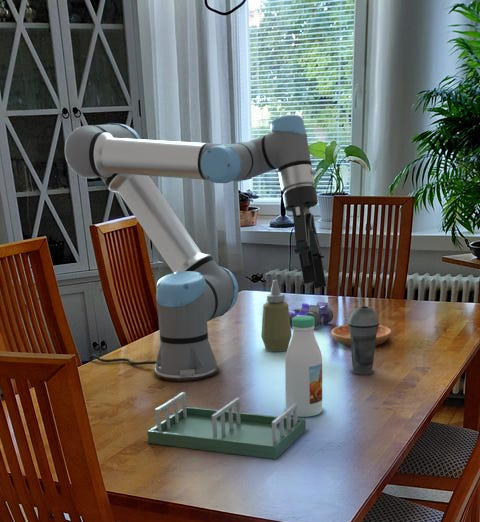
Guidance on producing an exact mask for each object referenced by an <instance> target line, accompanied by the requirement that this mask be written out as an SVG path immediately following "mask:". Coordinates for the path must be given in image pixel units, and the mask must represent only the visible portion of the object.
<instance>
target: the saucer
mask: <svg viewBox="0 0 480 522" xmlns="http://www.w3.org/2000/svg"><path fill="white" fill-rule="evenodd" d="M331 336H332V338H333V339H334V340H335V341H337V342H338V343H339V344H341V345H343V346H347V347H351V338H350V332H349V326H348V323H347V324H343V325H339V326H335V327H334V328H333V329H331ZM391 336H392V329H391V328H389V327H387V326H385V325H382V324H379V325H378V331H377V335H376V344H375V347H376V346H379V345H382V344H383V343H385V342H387V340H388V339H390V337H391Z"/></svg>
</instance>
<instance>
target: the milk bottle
mask: <svg viewBox="0 0 480 522" xmlns="http://www.w3.org/2000/svg"><path fill="white" fill-rule="evenodd" d="M291 324H292V325H291V330H292V336H291V339H290V342H289V346H288V349H286V353H285V363H284V375H285V376H284V379H285V381H284V384H285V385H284V386H285V388H284V389H285V392H284V393H285V411H286V410H287V409H288V408H289V407H290V406H292V405H293V404H294V403H296V404H297V417H298V418H300V417H301V418H304V417H305V418H307V417H314V416H317V415H320V414H321V413H322V411H323V356H322V351H321V348H320V346H319V344H318V342H317V339H316V336H315V331H314V330H315V329H316V328H315V327H314V325H315V318H314V317H312V316H306V315H302V316H296V317H293V318H292V323H291ZM314 328H315V329H314ZM291 416H293V411H292V412H291Z"/></svg>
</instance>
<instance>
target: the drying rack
mask: <svg viewBox="0 0 480 522" xmlns="http://www.w3.org/2000/svg"><path fill="white" fill-rule="evenodd" d="M186 394H187V393H186V392H184V391H183V392H180V393H178V394H177V395H176V396H174V397H172V398H171V399H169V400H168V401H166V402H164V403H163V404H161V405H159V406H158V407H156V408H155V410H154V412H155V418H156V425H154V426H153V427H151V428H150V429H149V430H147V440H148V444H153V445H154V444H155V445H161V446H162V445H163V446H169V447H177V448H185V449H192V450H200V451H206V452H207V451H208V452H209V451H210V452H215V453H216V452H217V453H223V454H232V455H240V456H247V457H254V458H255V457H256V458H262V459H271V460H276V459H278V457H279V456H281V455H282V454H283V453H284V452H285V451H286V450H287V449H288V448H289V447H290V446H292V444H294V442H296V441H297V440H298V439H299V438H300V437H301V436H302V435H303V434H305V432H306V430H307V428H306V426H307V425H306V423H307V422H306V418H299V417H298V416H297V404H296V403H294V404H293V405H292V406H290V407H289V408H288V409H287V410H286V409H285V410H284V411H283V412H282V413H281V414H279V415H269V414H260V413H249V412H242V411H241V397H235V398H234V399H233V400H231V401H230V402H228V403H227V404H226V405H224V406H223V407H222V408H220V409H213V408H204V407H196V406H195V407H193V406H187V398H186ZM180 400H181V407H182V408H181V409H179V407H178V401H180ZM172 405H173V414H171V415H170V406H172ZM234 406H235V411H234V410H233V407H234ZM162 411H164V415H165V419H164V420H162V421H161V412H162ZM292 411H293V415H291V412H292ZM291 416H292V417H291Z"/></svg>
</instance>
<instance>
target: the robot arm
mask: <svg viewBox="0 0 480 522" xmlns="http://www.w3.org/2000/svg"><path fill="white" fill-rule="evenodd" d="M269 126H270V129H269V130H270V132H269V133H267V134H265V135H263V136H261V137H258V138H253V139H251V140H248V141H241V142H234V143H212V142H211V143H210V142H192V141H190V142H189V141H176V140H175V141H173V140H159V139H157V140H156V139H142V138H141V137H140V135H139V134H138V133H137V131H135V129H133V128H132V127H131V126H130V125H129V126H128V125H127V124H122V123H119V122H118V123H117V122H108V123H104V124H94V125H93V124H92V125H91V124H89V125H88V124H87V125H82V126H79V127H77V128H75V129H74V130H73V131H72V132H70V133H69V135H68V136H67V138H66V140H65V144H64V157H65V160H66V163H67V165H68V167H69V168H70V170H71V171H72V172H74V173H75V174H76V175H78V176H80V177H81V178H86V179H97V178H100V179H101V180H102V181H103V183H104V184H105V186H106V188H107V189H108V190H109V191H110V192H112V193H118V194H119V195H120V197H121V198H122V199H123V201H124V202H125V205H126V206H127V207H128V209H129V210H130V212H131V213H132V214H133V216H134V218H135V219H136V220H137V222H138V224H140V226H141V228H142V229H143V231H144V232H145V233H146V235H147V236H148V238H149V239H150V241H151V242H152V244H153V245H154V246H155V248H156V249H157V251H158V252H159V254H160V255H161V257H162V258H163V260H164V261H165V263H166V264H167V265H168V267H169V268H170V270H171V271H172V273H168V274H166V275H164V276H162V277H161V278H159V279H158V281H157V283H156V290H155V292H156V293H155V300H156V309H157V318H158V329H159V330H158V331H159V349H158V352H157V357H156V360H146V361H133V360H131V359H129V358H125V357H119V358H112V359H111V358H110V359H109V358H108V359H107V358H106V359H105V358H101V357H99V356H98V355H96V354H91V355H90V356H89V357H88V358H87V360H92V359H93V358H94V359H96V360H97V361H99V362H102V363H114V362H128V363H129V364H130V365H134V366H141V365H142V366H143V365H154V371H155V372H154V373H155V376H156V377H157V378H159V379H161V380H165V381H169V382H190V381H199V380H203V379H207V378H210V377H212V376H214V375H215V374H217V373H218V362H217V360H216V357H215V354H214V351H213V349H212V347H211V344H210V342H209V341H210V340H209V331H208V330H209V329H208V328H209V327H208V322H210V321H212V320H214V319H216V318H220V317H222V316H224V315H225V314H226V313H228V312H229V311H231V310H232V309H233V308H234V306H235V305H236V303H237V301H238V297H239V296H238V295H239V283H238V281H237V278H236V276H235V275H234V273H232V271H231V270H229V269H228V268H226V267H223V266H220V265H218V263H217V262H216V261H215V259H214V258H213V256H212V255H211V254H210V253H209V254H208V253H204V252H202V250H201V249H200V248H199V247H198V245H197V244H196V242H195V241H194V239H193V238H192V236H191V235H190V233H189V232H188V230H187V229H186V228H185V226H184V225H183V223H182V221H181V220H180V219H179V218H178V216H177V214H176V213H175V212H174V210H173V209H172V207H171V205H170V204H169V202H168V201H167V200H166V198H165V197H164V196H163V194H162V193H161V191H160V190H159V188H158V187H157V185H156V184H155V183H154V181H153V179H152V178H151V177H162V178H175V179H188V180H189V179H190V180H191V179H192V180H203V181H210V182H212V183H214V184H228V183H230V182H234V181H235V182H242V181H247V180H251V179H253V178H255V177H258V176H261V175H263V174H266V173H269V172H271V171H274V170H278V171H277V172H278V178H279V183H280V190H281V191H282V192H283V194H282V198H283V204H284V209H285V210H286V212H291V213H292V217H293V218H292V219H293V227H294V229H293V231H294V239H295V248H294V253H295V255H296V254H298V255H299V256H298V257H299V262H300V267H301V273H302V278H303V284H304V285H307V284H311V283H313V288H314V289H316V290H317V289H321V288H324V287H325V288H326V287H327V282H326V276H325V271H324V265H323V259H324V258H325V253H323V252H322V249H321V245H320V241H319V237H318V233H317V229H316V223H315V216H314V214H312V212H311V211H310V209H311V208H313V207H315V206H317V205H318V204H319V199H318V194H317V188H316V186H314V185H315V178H314V177H315V176H313V175H315V174H316V173H317V171H316V169H313V167H312V165H313V164H312V160H311V154H310V147H309V141H308V134H307V130H306V126H305V121H304V119H303V118H302V116H300V115H299V114H295V113H293V114H292V113H291V114H290V113H289V114H285V115H281V116H277V117H275V119H273V120H271V122H270V125H269ZM100 358H101V359H100Z"/></svg>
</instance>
